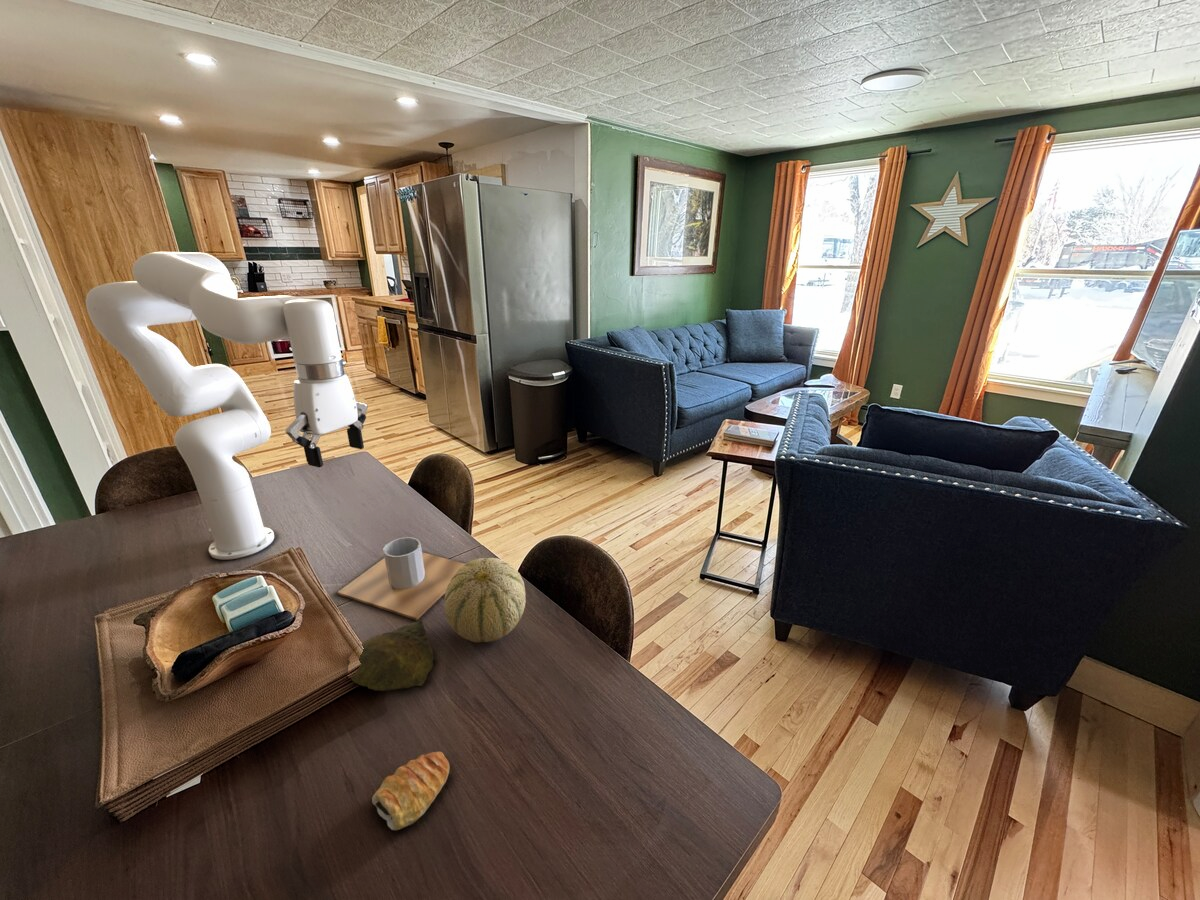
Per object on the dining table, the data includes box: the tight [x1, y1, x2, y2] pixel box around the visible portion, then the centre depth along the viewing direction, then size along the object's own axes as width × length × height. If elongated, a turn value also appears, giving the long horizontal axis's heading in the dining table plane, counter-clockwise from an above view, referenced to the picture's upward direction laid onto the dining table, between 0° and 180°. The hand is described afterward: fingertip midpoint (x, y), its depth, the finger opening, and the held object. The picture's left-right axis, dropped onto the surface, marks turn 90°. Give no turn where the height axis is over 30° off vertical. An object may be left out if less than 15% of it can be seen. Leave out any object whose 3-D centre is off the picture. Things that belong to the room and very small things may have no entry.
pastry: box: [371, 751, 451, 831], centre depth 61 cm, size 9×7×4 cm
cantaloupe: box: [443, 557, 527, 643], centre depth 86 cm, size 15×15×15 cm
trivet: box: [337, 551, 466, 621], centre depth 101 cm, size 20×18×1 cm
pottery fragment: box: [350, 619, 435, 692], centre depth 80 cm, size 13×14×4 cm
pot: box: [383, 536, 425, 589], centre depth 100 cm, size 7×7×8 cm
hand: (337, 456), depth 93 cm, fingers open, 9 cm apart
